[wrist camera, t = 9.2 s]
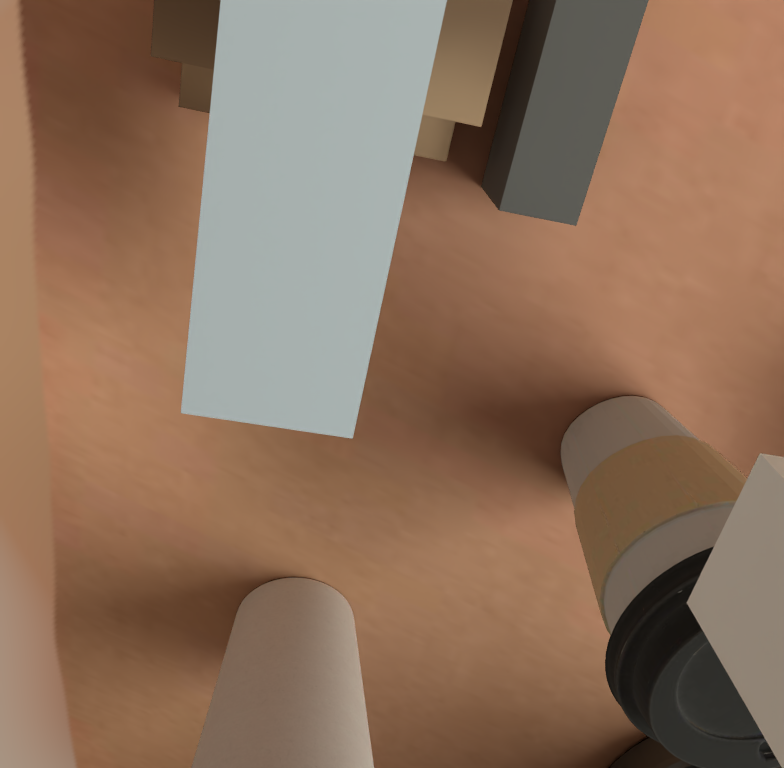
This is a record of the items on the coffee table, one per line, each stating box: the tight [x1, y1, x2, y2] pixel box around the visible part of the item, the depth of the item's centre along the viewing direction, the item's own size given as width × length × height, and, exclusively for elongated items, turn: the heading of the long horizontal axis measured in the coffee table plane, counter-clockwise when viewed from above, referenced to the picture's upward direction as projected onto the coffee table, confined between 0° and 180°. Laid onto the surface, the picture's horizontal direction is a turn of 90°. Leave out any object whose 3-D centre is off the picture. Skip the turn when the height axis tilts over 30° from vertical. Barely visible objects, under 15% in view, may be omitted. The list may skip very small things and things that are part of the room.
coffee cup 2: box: [560, 396, 781, 768], centre depth 31 cm, size 9×9×15 cm
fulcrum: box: [151, 0, 513, 162], centre depth 25 cm, size 8×10×7 cm
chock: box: [481, 0, 648, 226], centre depth 27 cm, size 10×3×4 cm, turn 168°
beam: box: [181, 0, 447, 439], centre depth 19 cm, size 22×5×5 cm, turn 168°
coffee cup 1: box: [191, 578, 374, 768], centre depth 35 cm, size 10×10×15 cm
